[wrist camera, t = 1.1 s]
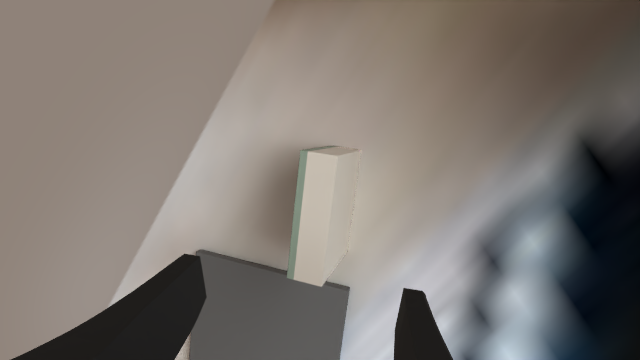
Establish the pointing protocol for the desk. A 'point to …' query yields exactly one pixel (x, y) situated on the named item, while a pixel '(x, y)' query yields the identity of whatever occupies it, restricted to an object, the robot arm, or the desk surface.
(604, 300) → the desk surface
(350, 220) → the tile
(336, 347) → the mat
